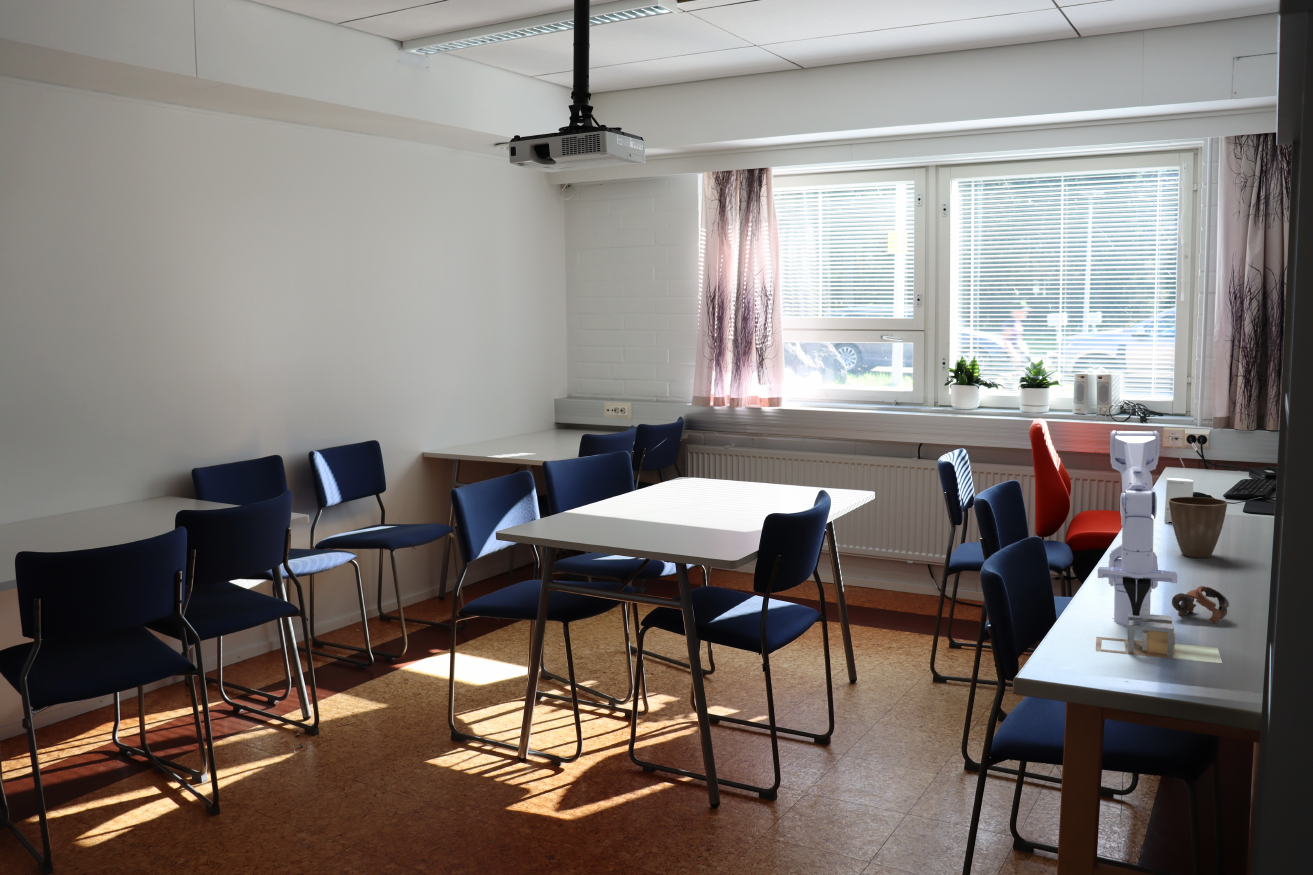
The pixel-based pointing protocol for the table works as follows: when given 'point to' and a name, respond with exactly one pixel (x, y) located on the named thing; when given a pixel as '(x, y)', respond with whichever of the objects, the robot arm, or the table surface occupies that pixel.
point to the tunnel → (1151, 629)
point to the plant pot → (1197, 524)
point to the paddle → (1144, 632)
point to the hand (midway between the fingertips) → (1136, 614)
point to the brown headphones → (1201, 602)
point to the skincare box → (1176, 492)
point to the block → (1158, 642)
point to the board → (1180, 653)
